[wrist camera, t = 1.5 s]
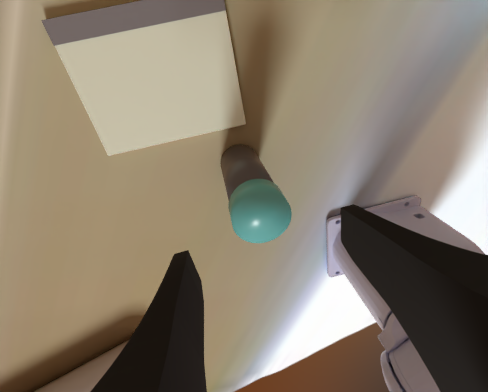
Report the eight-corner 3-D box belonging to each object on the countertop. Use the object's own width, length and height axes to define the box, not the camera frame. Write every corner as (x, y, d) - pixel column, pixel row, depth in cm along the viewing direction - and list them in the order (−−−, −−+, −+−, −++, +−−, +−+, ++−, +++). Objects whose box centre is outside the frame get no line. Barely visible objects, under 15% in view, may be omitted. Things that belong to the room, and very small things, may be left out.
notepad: (220, -14, 15) (221, -16, 14) (245, 122, 19) (246, 124, 18) (46, 21, 14) (41, 20, 14) (109, 153, 18) (107, 156, 18)
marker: (255, 139, 20) (288, 185, 13) (261, 175, 21) (293, 234, 14) (215, 148, 19) (226, 201, 13) (224, 184, 21) (238, 249, 14)
